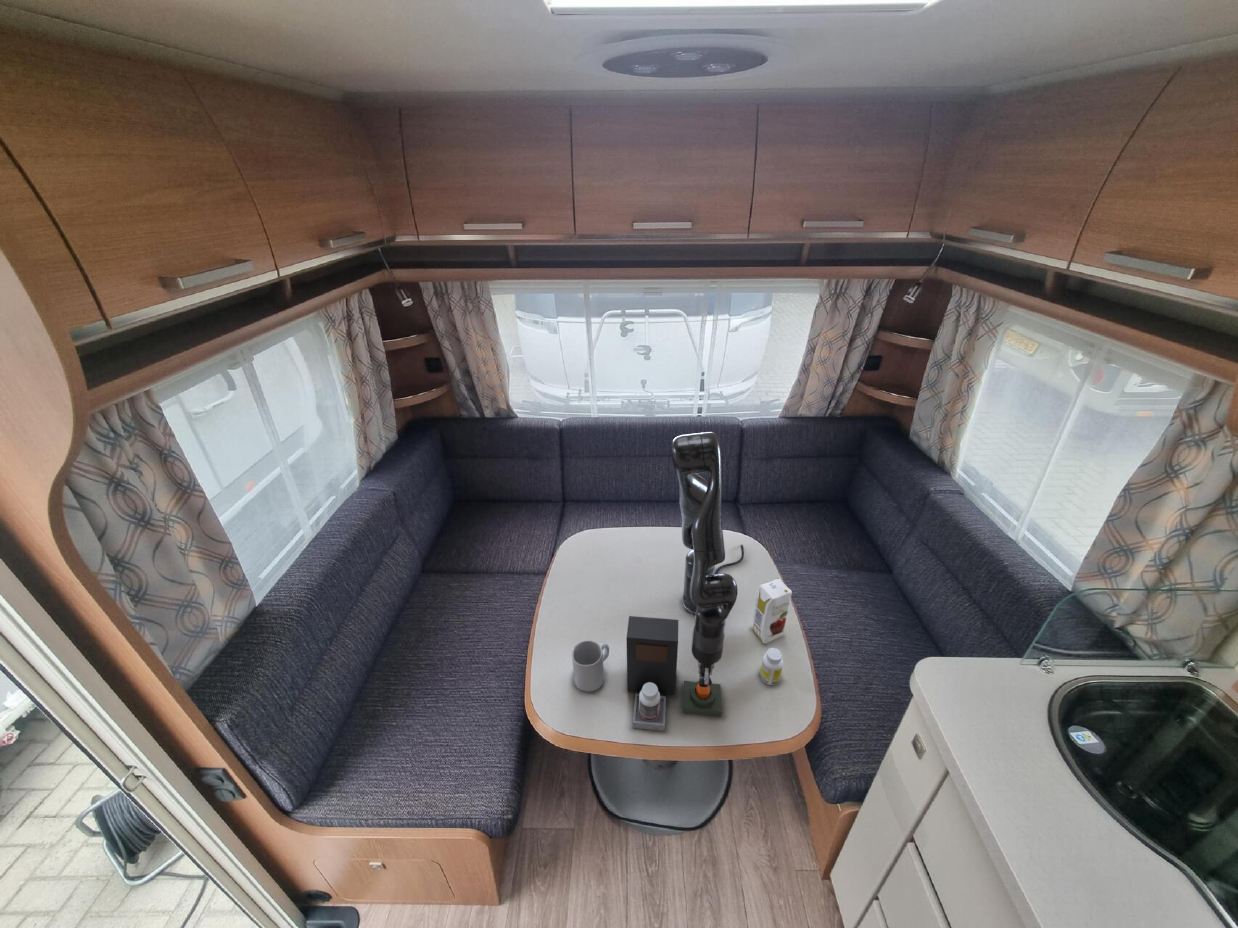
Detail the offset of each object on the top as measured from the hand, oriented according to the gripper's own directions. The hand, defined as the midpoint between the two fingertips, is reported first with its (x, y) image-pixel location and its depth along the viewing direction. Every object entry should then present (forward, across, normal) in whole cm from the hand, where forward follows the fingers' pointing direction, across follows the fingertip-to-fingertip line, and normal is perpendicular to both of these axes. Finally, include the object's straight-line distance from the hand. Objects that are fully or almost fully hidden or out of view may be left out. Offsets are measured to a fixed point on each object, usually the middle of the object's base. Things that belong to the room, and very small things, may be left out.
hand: (703, 684), depth 128 cm
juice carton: (+7, -25, +21) cm, 33 cm away
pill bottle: (+7, +5, -14) cm, 16 cm away
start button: (+4, 0, 0) cm, 4 cm away
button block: (+7, 0, 0) cm, 7 cm away
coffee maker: (+7, +1, -14) cm, 15 cm away
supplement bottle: (+7, -9, +19) cm, 23 cm away
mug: (+7, -5, -30) cm, 32 cm away
